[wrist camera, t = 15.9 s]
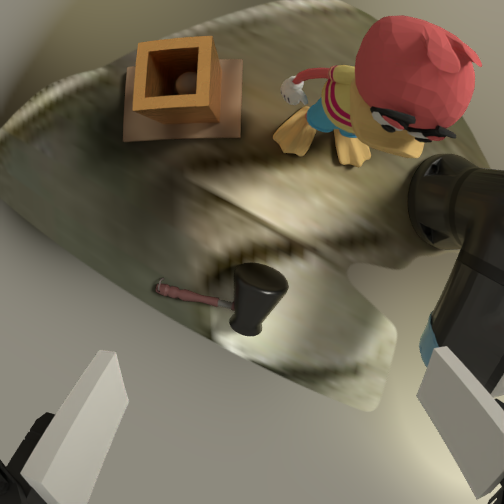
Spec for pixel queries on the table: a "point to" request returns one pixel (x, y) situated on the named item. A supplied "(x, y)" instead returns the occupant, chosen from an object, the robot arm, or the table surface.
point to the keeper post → (186, 84)
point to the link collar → (168, 70)
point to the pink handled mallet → (242, 296)
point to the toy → (385, 93)
